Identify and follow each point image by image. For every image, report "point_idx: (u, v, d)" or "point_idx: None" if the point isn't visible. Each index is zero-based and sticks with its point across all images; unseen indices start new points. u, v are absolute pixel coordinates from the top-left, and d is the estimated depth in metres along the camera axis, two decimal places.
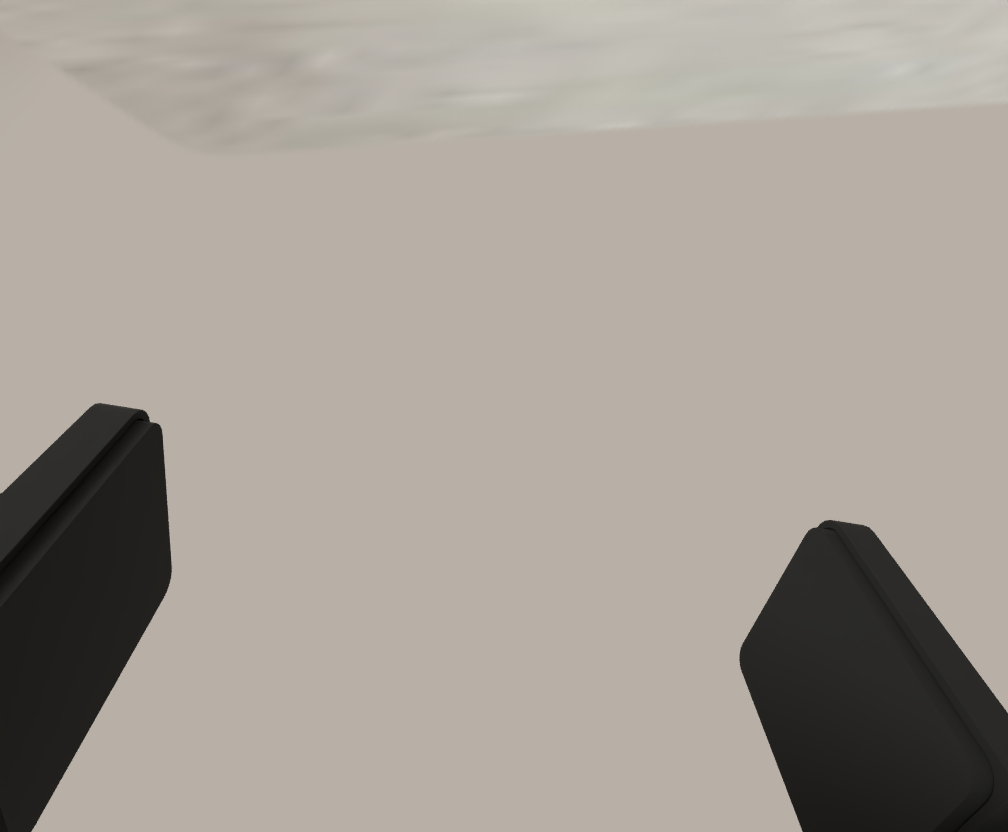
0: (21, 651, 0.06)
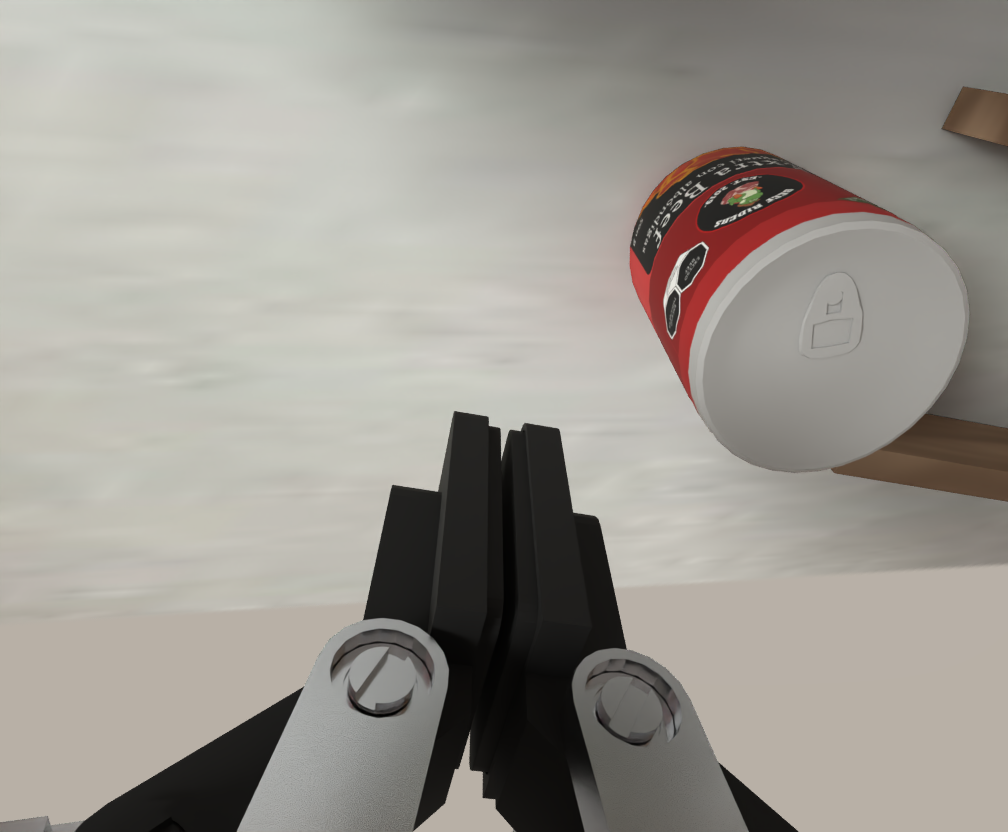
0: None
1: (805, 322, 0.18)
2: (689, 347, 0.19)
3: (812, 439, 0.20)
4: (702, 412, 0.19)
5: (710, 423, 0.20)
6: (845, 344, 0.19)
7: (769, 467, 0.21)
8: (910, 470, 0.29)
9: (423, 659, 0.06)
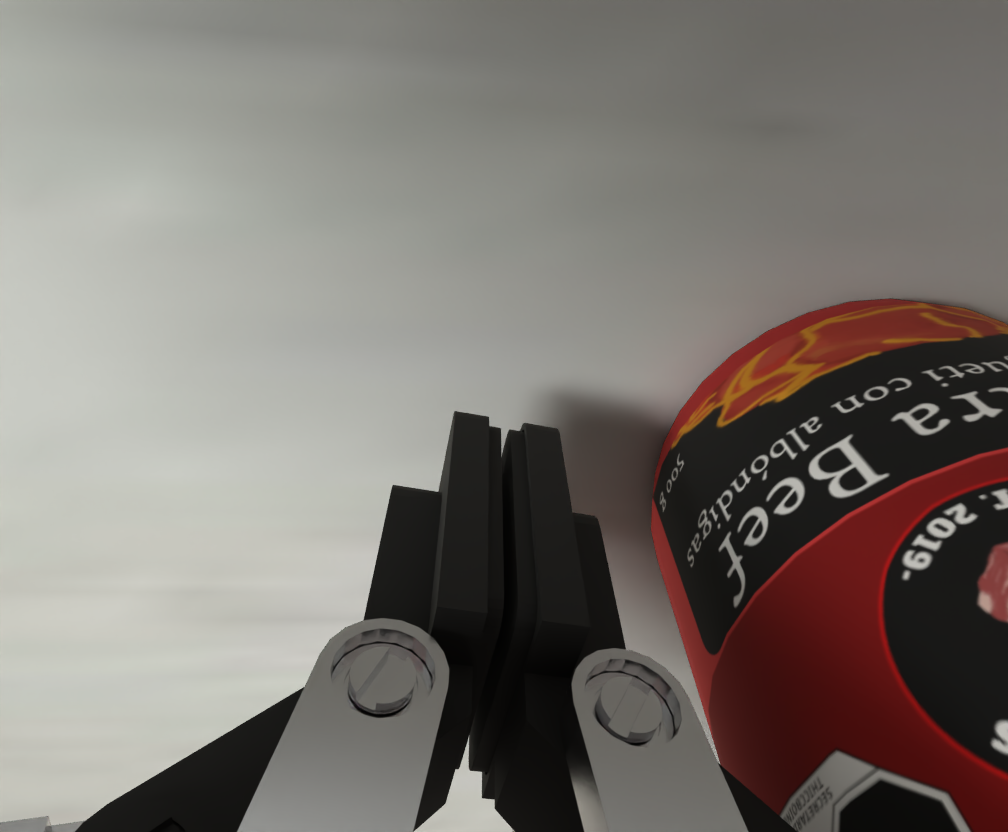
0: None
1: None
2: None
3: None
4: None
5: None
6: None
7: None
8: None
9: (424, 659, 0.06)
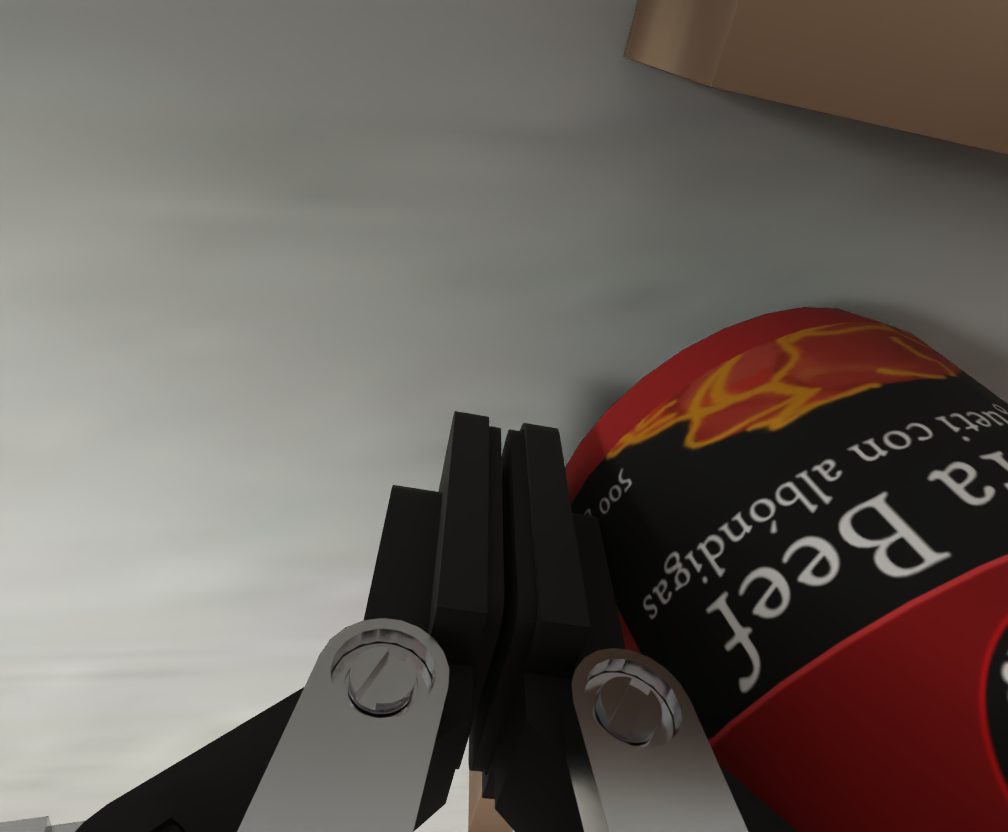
0: None
1: None
2: None
3: None
4: None
5: None
6: None
7: None
8: None
9: (424, 659, 0.06)
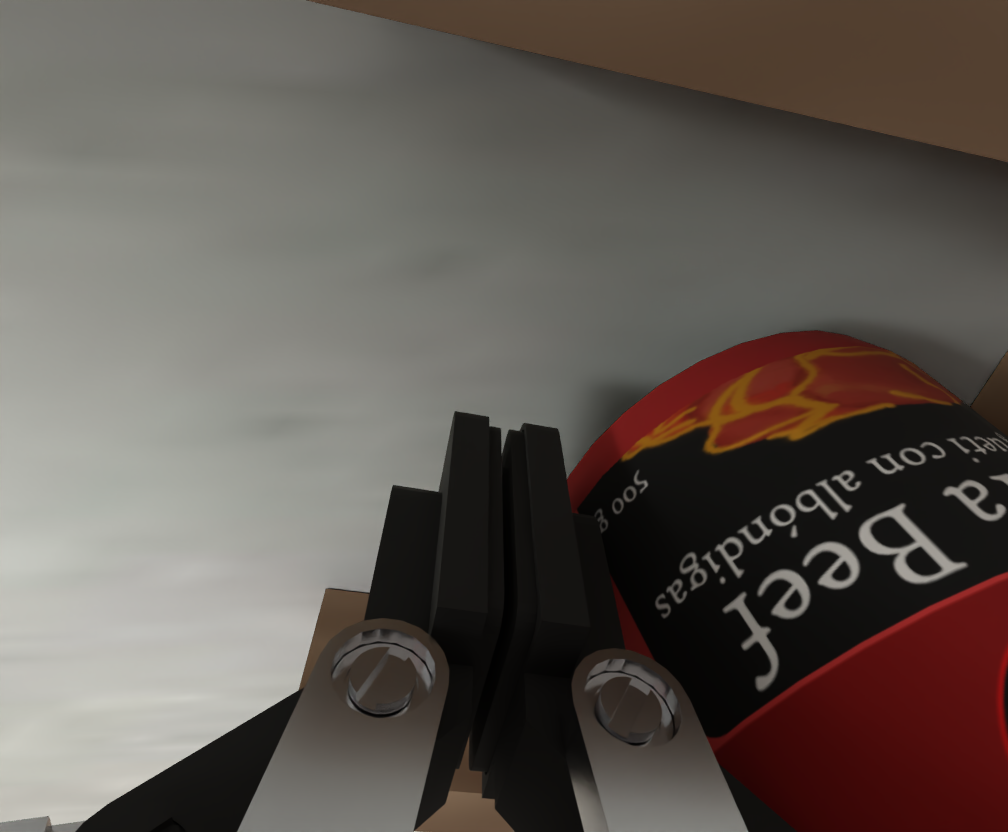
0: None
1: None
2: None
3: None
4: None
5: None
6: None
7: None
8: (446, 811, 0.13)
9: (424, 659, 0.06)
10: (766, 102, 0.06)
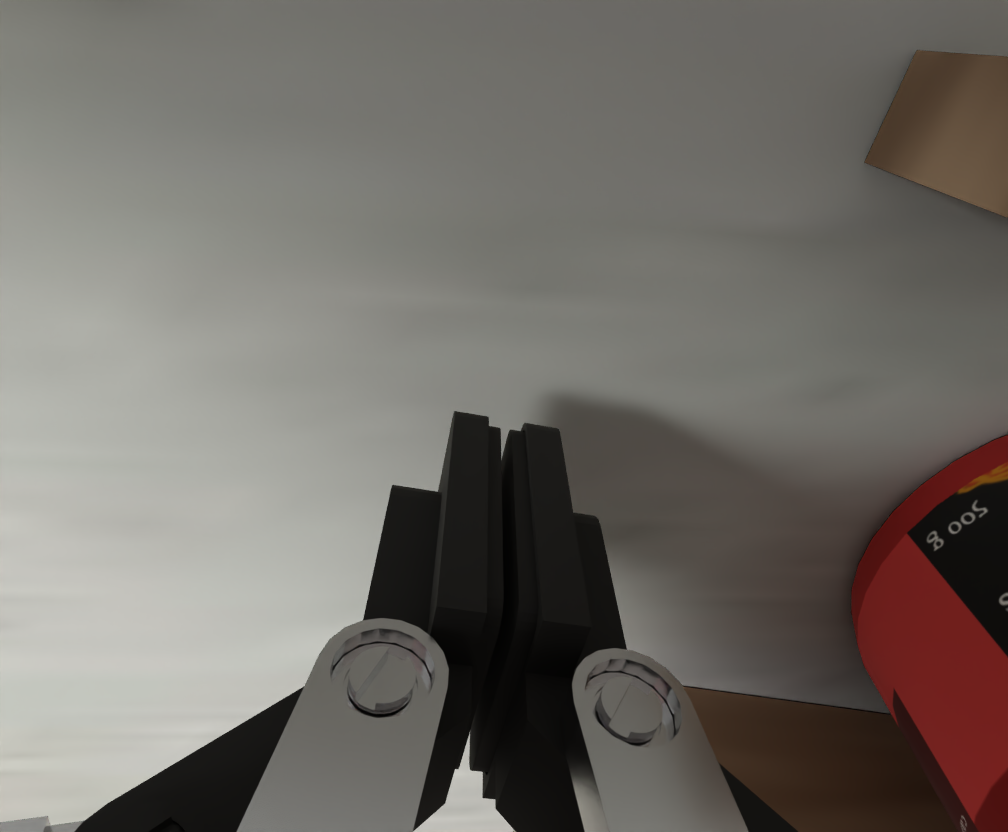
0: None
1: None
2: None
3: None
4: None
5: None
6: None
7: None
8: None
9: (423, 659, 0.06)
10: None
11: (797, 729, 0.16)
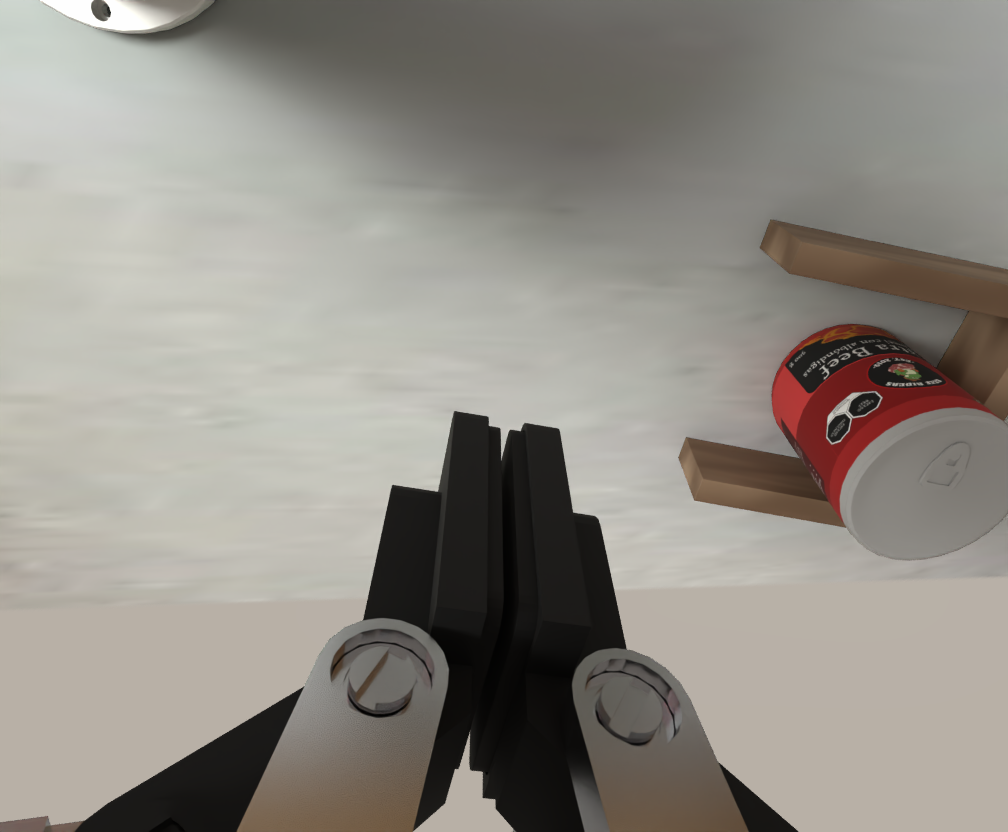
0: None
1: (931, 464, 0.29)
2: (857, 455, 0.29)
3: (897, 538, 0.31)
4: (848, 498, 0.30)
5: (849, 506, 0.30)
6: (946, 486, 0.29)
7: (866, 546, 0.31)
8: (753, 499, 0.38)
9: (423, 659, 0.06)
10: (875, 290, 0.31)
11: (754, 456, 0.41)
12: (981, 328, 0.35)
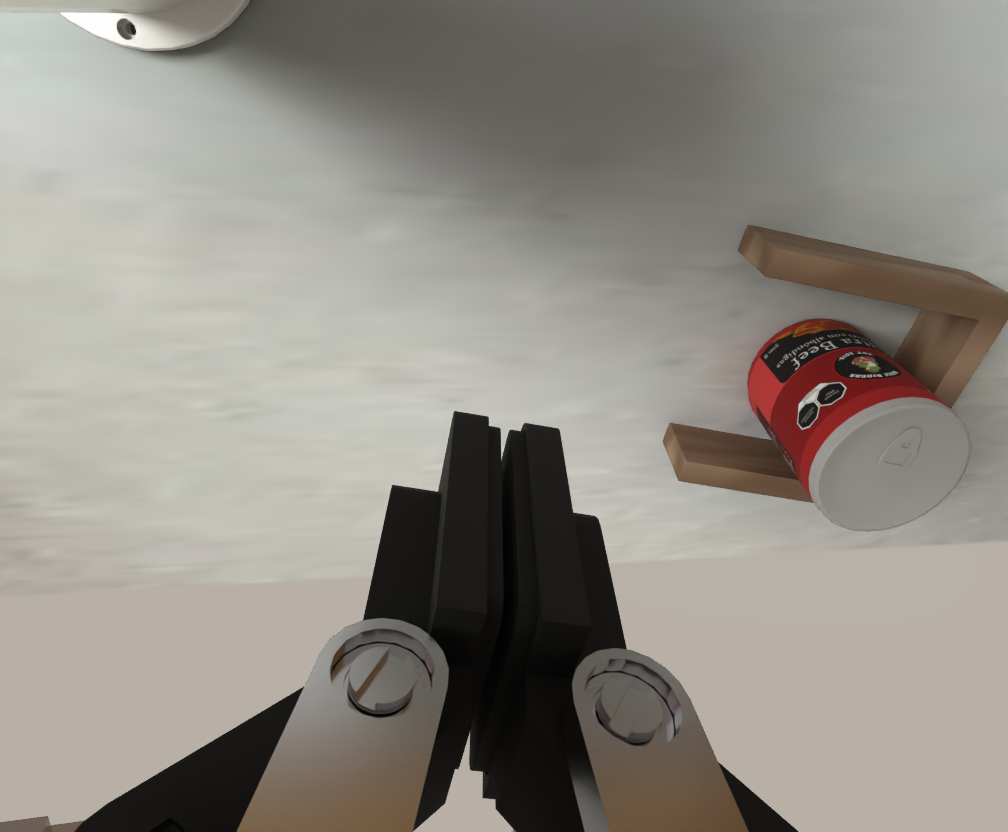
0: None
1: (888, 447, 0.33)
2: (824, 440, 0.33)
3: (859, 511, 0.35)
4: (816, 477, 0.33)
5: (817, 485, 0.34)
6: (901, 465, 0.33)
7: (831, 520, 0.35)
8: (731, 478, 0.41)
9: (423, 659, 0.06)
10: (840, 291, 0.35)
11: (732, 439, 0.44)
12: (934, 322, 0.39)
